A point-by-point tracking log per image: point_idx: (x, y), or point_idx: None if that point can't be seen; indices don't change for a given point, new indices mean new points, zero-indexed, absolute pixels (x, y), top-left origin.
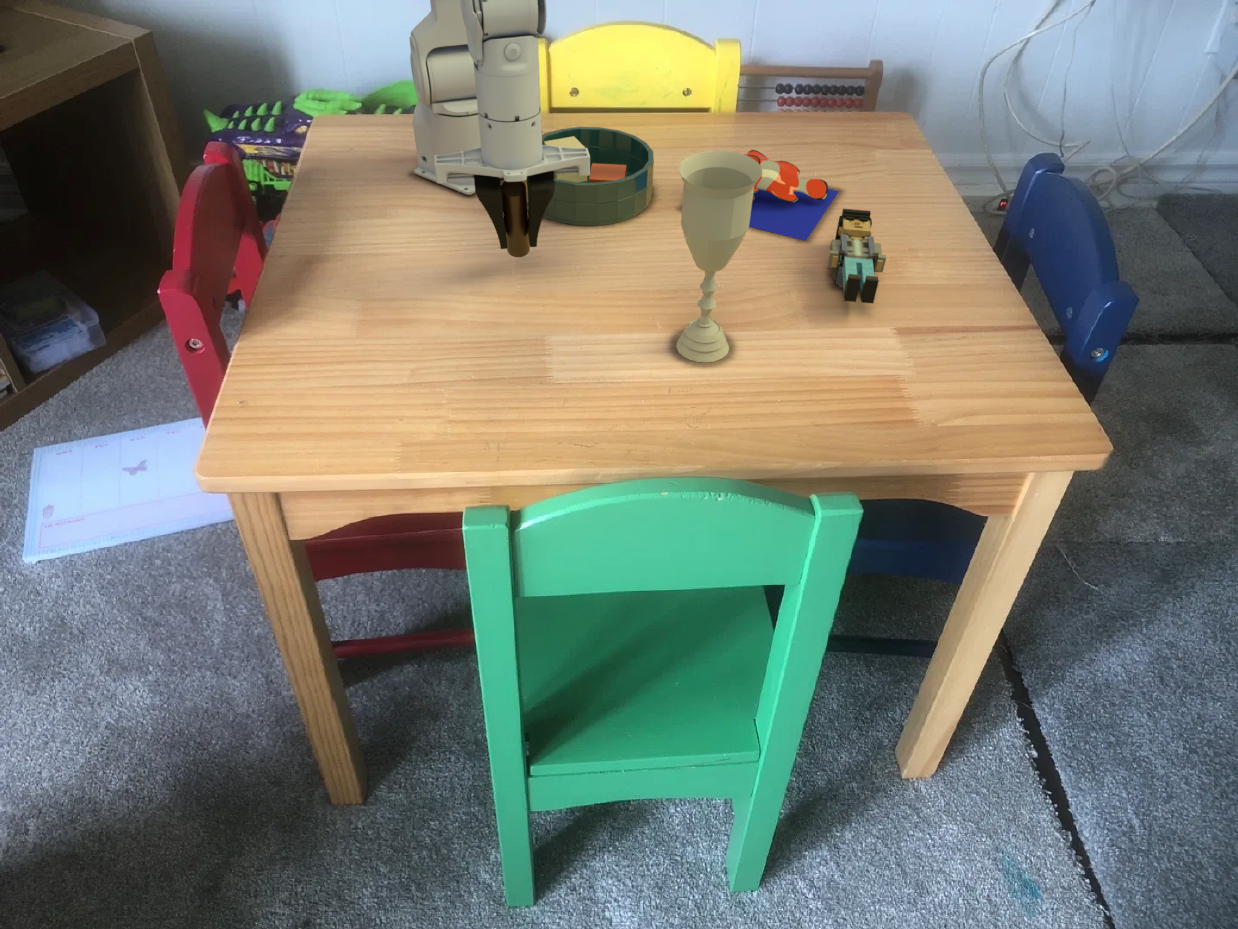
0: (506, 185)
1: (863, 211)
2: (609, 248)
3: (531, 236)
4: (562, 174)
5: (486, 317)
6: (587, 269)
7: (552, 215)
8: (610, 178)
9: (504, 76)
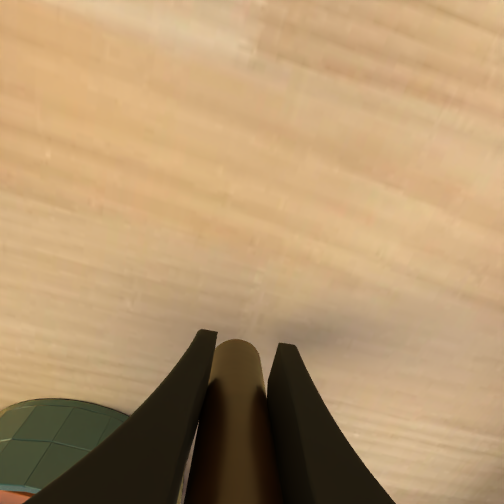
0: None
1: None
2: (60, 339)
3: (207, 352)
4: None
5: (359, 192)
6: (109, 292)
7: None
8: (3, 493)
9: None
